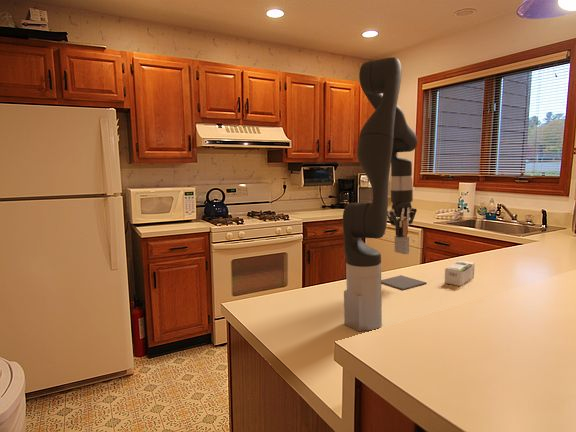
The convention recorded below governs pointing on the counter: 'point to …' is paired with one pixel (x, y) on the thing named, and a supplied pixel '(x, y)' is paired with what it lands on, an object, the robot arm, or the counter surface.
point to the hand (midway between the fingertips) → (401, 236)
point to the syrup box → (459, 273)
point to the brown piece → (402, 240)
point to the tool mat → (402, 282)
